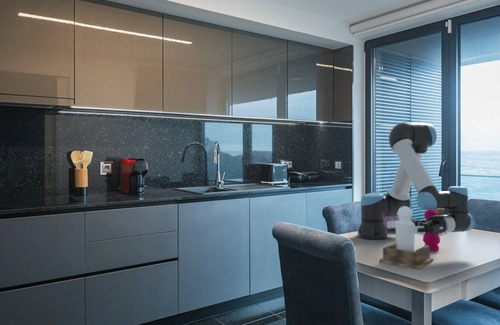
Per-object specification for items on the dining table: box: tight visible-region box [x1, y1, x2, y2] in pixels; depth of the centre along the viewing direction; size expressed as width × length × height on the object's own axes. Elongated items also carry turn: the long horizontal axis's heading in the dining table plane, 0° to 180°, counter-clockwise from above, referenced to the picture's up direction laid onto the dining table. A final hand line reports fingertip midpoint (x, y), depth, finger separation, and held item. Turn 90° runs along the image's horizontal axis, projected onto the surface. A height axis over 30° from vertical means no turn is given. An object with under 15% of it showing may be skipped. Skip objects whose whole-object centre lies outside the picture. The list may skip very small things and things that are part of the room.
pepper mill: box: [422, 210, 441, 252], centre depth 182 cm, size 7×7×20 cm
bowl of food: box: [384, 208, 414, 231], centre depth 233 cm, size 20×20×12 cm
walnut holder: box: [379, 242, 434, 270], centre depth 162 cm, size 16×16×6 cm
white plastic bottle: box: [395, 206, 416, 252], centre depth 161 cm, size 6×6×22 cm
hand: (398, 227), depth 160 cm, fingers open, 13 cm apart
